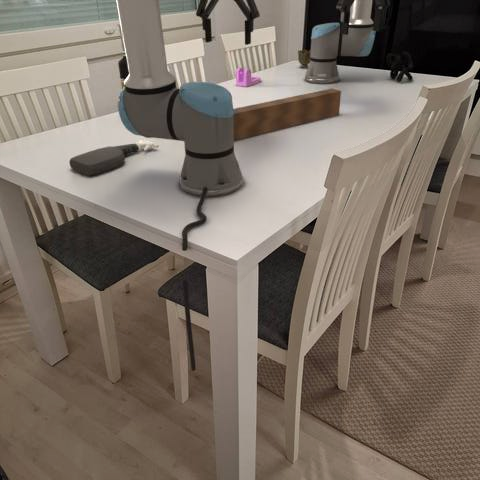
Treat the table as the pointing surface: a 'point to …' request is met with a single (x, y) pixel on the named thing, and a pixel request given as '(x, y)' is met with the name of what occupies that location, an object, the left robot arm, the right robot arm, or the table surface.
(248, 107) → the bar
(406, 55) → the squiggle
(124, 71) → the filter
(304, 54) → the cup
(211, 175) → the left robot arm
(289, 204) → the table surface
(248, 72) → the bracket
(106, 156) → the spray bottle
